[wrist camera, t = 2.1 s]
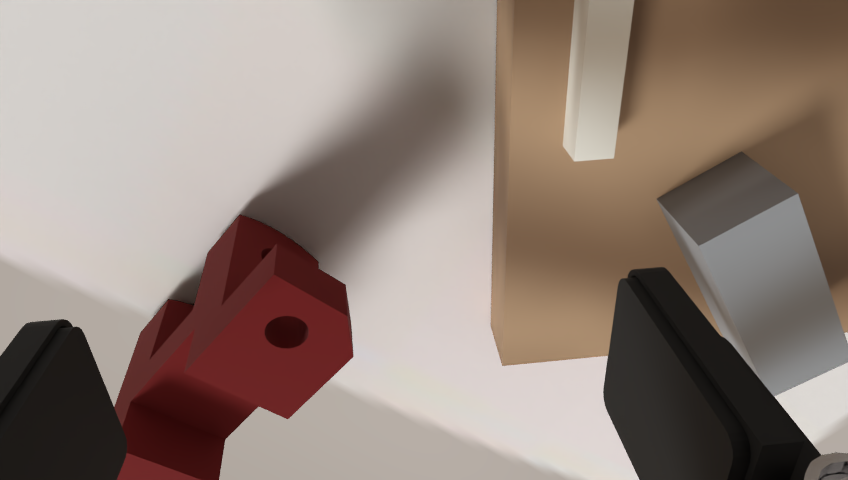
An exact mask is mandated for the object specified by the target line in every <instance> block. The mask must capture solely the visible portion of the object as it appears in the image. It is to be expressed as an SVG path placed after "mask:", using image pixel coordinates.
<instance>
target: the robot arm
mask: <svg viewBox="0 0 848 480" xmlns="http://www.w3.org/2000/svg"><path fill="white" fill-rule="evenodd" d="M603 393H604V402H605V406H606V409H607V412H608V414H609V416H610V418H611V420H612V422H613V424H614V426H615V429H616V431H617V433H618V435H619V437H620V439H621V441H622V443H623V446H624V448H625V450H626V452H627V454H628V456H629V458H630V460H631V463H632V465H633V467H634V469H635V471H636V473H637V475H638V477H639V480H848V453H831V454H825V455H821V454H820V453H819V452H818V451H817V449H816V448H815V447H814V446H813V444H812V443H811V442H810V441H809V439H808V438H807V437H806V436H805V434H804V433H803V432H802V431H801V429H800V428H799V427H798V426H797V425H796V423H795V422H794V421H793V420H792V418H791V417H790V416H789V415H788V413H787V412H786V411H785V410H784V408H783V407H782V406H781V405H780V404H779V402H778V401H777V400H776V399H775V397H774V396H773V395H772V394H771V392H770V391H769V390H768V389H767V387H766V386H765V385H764V384H763V382H762V381H761V380H760V379H759V378H758V376H757V375H756V374H755V373H754V371H753V370H752V369H751V368H750V366H749V365H748V364H747V363H746V361H745V360H744V359H743V358H742V357H741V355H740V354H739V353H738V352H737V350H736V349H735V348H734V347H733V345H732V344H731V343H730V342H729V341H728V340H727V339H726V338H724V337H722V336H720V335H719V333H718V332H717V331H716V330H715V328H714V327H713V326H712V325H711V323H710V322H709V321H708V320H707V318H706V317H705V316H704V315H703V313H702V312H701V311H700V310H699V308H698V307H697V306H696V305H695V303H694V302H693V301H692V300H691V298H690V297H689V296H688V295H687V293H686V292H685V291H684V289H683V288H682V287H681V286H680V284H679V283H678V282H677V281H676V279H675V278H674V277H673V276H672V274H671V273H670V272H669V271H668V270H667V269H666V268H665V267H655V268H643V269H633V270H631V271H630V272H629V274H628V277H627V278H622V279H620V281H619V283H618V289H617V296H616V303H615V310H614V317H613V325H612V332H611V339H610V346H609V354H608V361H607V368H606V375H605V383H604V392H603ZM126 454H127V439H126V436H125V433H124V431H123V428H122V426H121V423H120V421H119V418H118V416H117V414H116V411H115V409H114V406H113V404H112V401H111V399H110V396H109V394H108V391H107V389H106V386H105V384H104V382H103V379H102V377H101V374H100V372H99V370H98V367H97V364H96V362H95V360H94V357H93V355H92V352H91V350H90V347H89V345H88V342H87V340H86V337H85V335H84V333H83V331H82V330H81V329H80V328H79V327H73V326H72V324H71V323H70V322H69V321H67V320H64V319H62V320H51V321H39V322H30V323H27V324H25V325H24V326H23V327H22V329H21V330H20V331H19V332H18V334H17V335H16V336H15V338H14V339H13V340H12V342H11V343H10V344H9V346H8V347H7V348H6V350H5V351H4V352H3V354H2V355H1V356H0V480H117V478H118V475H119V473H120V471H121V468H122V466H123V463H124V461H125V458H126Z"/></svg>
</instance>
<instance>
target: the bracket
mask: <svg viewBox="0 0 848 480" xmlns="http://www.w3.org/2000/svg"><path fill="white" fill-rule="evenodd" d="M352 358H353V344H352V329H351V320H350V313H349V306H348V299H347V292H346V285H345V284H343V283H342V282H340V281H338V280H337V279H335V278H333V277H332V276H330V275H328V274H327V273H325V272H323V271H322V270H320V269H319V262H318V261H317V260H316V259H315V258H314V257H312V256H311V255H310V254H309V253H308V252H307V251H305V250H304V249H303V248H302V247H301V246H299V245H298V244H296V243H295V242H294V241H292V240H291V239H290V238H288V237H286V236H285V235H283V234H282V233H280V232H278V231H277V230H275V229H273V228H271V227H269V226H267V225H265V224H263V223H261V222H259V221H256V220H254V219H252V218H249V217H246V216H243V215H239V216H238V217H237V219H236V220H235V221H234V222H233V223H232V224H231V226H230V227H229V228H228V229H227V230H226V232H225V233H224V234H223V235H222V236H221V238H220V239H219V240H218V241H217V242H216V244H215V245H214V246H213V247H212V248H211V249H210V251H209V252H208V254H207V258H206V262H205V265H204V269H203V273H202V277H201V281H200V285H199V289H198V292H197V296H196V300H195V304H194V306H193V305H191V304H187V303H183V302H180V301H175V300H169V299H168V301H167V302H166V303H165V304H164V305H163V307H162V308H161V309H160V310H159V311H158V312H157V314H156V315H155V316H154V317H153V318H152V320H151V321H150V322H149V323H148V324H147V326H146V327H145V328H144V329H143V330H142V331H141V333H140V336H139V338H138V341H137V344H136V347H135V350H134V353H133V356H132V358H131V361H130V364H129V367H128V370H127V373H126V375H125V378H124V381H123V384H122V387H121V390H120V393H119V396H118V398H117V402H116V404H115V407H114V409H115V411H116V414H117V416H118V418H119V421H120V423H121V426H122V428H123V431H124V433H125V436H126V439H127V454H126V458H125V461H124V463H123V466H122V468H121V471H120V473H119V475H118V478H117V480H219V476H220V469H221V463H222V455H223V450H224V443H225V439H226V438H227V437H228V436H229V435H230V434H231V433H232V432H233V431H234V430H235V429H236V428H237V427H238V426H239V425H240V424H241V423H242V422H243V421H244V420H245V419H246V418H247V417H248V416H249V415H250V414H251V413H252V412H253V411H254V410H255V409H256V408H257V407H258V406H259V407H262V408H264V409H267V410H269V411H271V412H273V413H275V414H277V415H280V416H282V417H284V418H286V419H288V418H290V417H291V416H292V415H293V414H294V413H295V412H296V411H297V410H298V409H299V408H300V407H301V406H302V405H303V404H304V403H305V402H306V401H307V400H308V399H310V398H311V397H312V396H313V395H314V394H315V393H316V392H317V391H318V390H319V389H320V388H321V387H322V386H323V385H324V384H325V383H326V382H327V381H328V380H330V379H331V378H332V377H333V376H334V375H335V374H336V373H337V372H338V371H339V370H340V369H341V368H342V367H343V366H344V365H345V364H346V363H347V362H348V361H349V360H350V359H352Z"/></svg>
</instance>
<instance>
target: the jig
mask: <svg viewBox="0 0 848 480" xmlns="http://www.w3.org/2000/svg"><path fill="white" fill-rule="evenodd" d="M655 267H665V268H666V269H667V270H668V271H669V272H670V273H671V274H672V276H673V277H674V278H675V279H676V281H677V282H678V283H679V284H680V286H681V287H682V288H683V289H684V291H685V292H686V293H687V295H688V296H689V297H690V298H691V300H692V301H693V302H694V303H695V305H696V306H697V307H698V308H699V310H700V311H701V312H702V313H703V315H704V316H705V317H706V318H707V320H708V321H709V322H710V323H711V325H712V326H713V327H714V328H715V330H716V331H717V332H718V333H719V335H720V336H722V337H724V338H726V339H727V340H728V341H729V342H730V343H731V344H732V345H733V347H734V348H735V349H736V350H737V352H738V353H739V354H740V355H741V357H742V358H743V359H744V360H745V361H746V363H747V364H748V365H749V366H750V368H751V369H752V370H753V371H754V373H755V374H756V375H757V376H758V378H759V379H760V380H761V381H762V382H763V384H764V385H765V386H766V387H767V389H768V390H769V391H770V392H771V394H772V395H773V396H776V395H778V394H780V393H782V392H785V391H787V390H789V389H791V388H793V387H795V386H798V385H800V384H802V383H804V382H806V381H808V380H810V379H813V378H815V377H817V376H819V375H821V374H823V373H826V372H828V371H830V370H832V369H834V368H836V367H838V366H841V365H843V364H845V363H847V362H848V343H847V340H846V337H845V334H844V333H845V332H848V0H497V38H496V89H495V141H494V192H493V243H492V295H491V329H492V332H493V335H494V339H495V342H496V346H497V349H498V352H499V356H500V359H501V363H502V366H506V365H516V364H527V363H537V362H547V361H558V360H568V359H578V358H588V357H599V356H608V354H609V346H610V339H611V332H612V325H613V317H614V310H615V303H616V296H617V289H618V283H619V281H620V279H622V278H627V277H628V274H629V272H630V271H631V270H633V269H643V268H655Z"/></svg>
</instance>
